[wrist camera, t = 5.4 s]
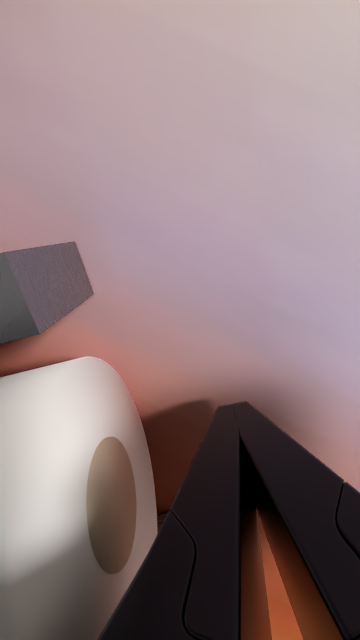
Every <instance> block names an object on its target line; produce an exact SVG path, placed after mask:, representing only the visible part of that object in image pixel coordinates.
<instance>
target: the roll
mask: <svg viewBox="0 0 360 640" xmlns="http://www.w3.org/2000/svg"><path fill="white" fill-rule="evenodd" d="M156 536H157V510H156V497H155V487H154V479H153V472H152V465H151V459H150V454H149V449H148V445H147V440H146V436H145V432H144V429H143V425H142V422H141V419H140V416H139V413H138V410H137V408H136V405H135V402H134V400H133V398H132V396H131V394H130V392H129V390H128V388H127V386H126V384H125V383H124V381H123V380H122V378H121V377H120V375H119V374H118V373H117V372H116V371H115V369H114V368H112V367H111V366H110V365H109V364H108V363H106V362H105V361H103V360H102V359H99V358H96V357H89V356H86V357H82V358H77V359H73V360H69V361H65V362H61V363H57V364H53V365H49V366H45V367H41V368H37V369H32V370H28V371H24V372H20V373H16V374H12V375H8V376H4V377H0V640H97V638H98V637H99V635H100V633H101V632H102V630H103V628H104V627H105V625H106V623H107V622H108V620H109V618H110V617H111V615H112V613H113V612H114V610H115V609H116V607H117V605H118V604H119V602H120V600H121V599H122V597H123V595H124V594H125V592H126V590H127V589H128V587H129V585H130V583H131V582H132V580H133V578H134V576H135V575H136V573H137V571H138V570H139V568H140V566H141V564H142V563H143V561H144V559H145V557H146V556H147V554H148V552H149V550H150V548H151V546H152V544H153V542H154V540H155V538H156Z"/></svg>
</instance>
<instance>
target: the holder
mask: <svg viewBox="0 0 360 640" xmlns="http://www.w3.org/2000/svg"><path fill="white" fill-rule="evenodd" d="M93 294H94V293H93V290H92V288H91V285H90V282H89V279H88V277H87V274H86V271H85V268H84V265H83V263H82V260H81V257H80V254H79V251H78V249H77V246H76V243H75V242H68V243H62V244H55V245H48V246H42V247H35V248H29V249H22V250H16V251H9V252H3V253H0V344H1V343H5V342H9V341H13V340H17V339H21V338H25V337H29V336H33V335H37V334H40V333H42V332H43V331H44V330H46V329H47V328H48V327H50V326H51V325H52V324H54V323H55V322H56V321H58V320H59V319H61V318H62V317H63V316H65V315H66V314H67V313H69V312H70V311H71V310H73V309H74V308H75V307H77V306H78V305H79V304H81V303H82V302H83V301H85V300H86V299H88V298H89V297H90V296H92V295H93ZM166 515H167V513H163V514H157V534H158V532H159V530H160V528H161V526H162V524H163V522H164V520H165V517H166Z"/></svg>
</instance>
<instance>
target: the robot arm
mask: <svg viewBox="0 0 360 640" xmlns="http://www.w3.org/2000/svg"><path fill="white" fill-rule="evenodd" d="M256 508H257V510H256ZM257 511H258V514H259V517H260V519H261V522H262V525H263V528H264V531H265V533H266V536H267V539H268V542H269V544H270V547H271V550H272V553H273V556H274V558H275V561H276V564H277V567H278V570H279V572H280V575H281V578H282V581H283V584H284V586H285V589H286V592H287V595H288V597H289V600H290V603H291V606H292V609H293V611H294V614H295V617H296V620H297V623H298V625H299V628H300V631H301V634H302V637H303V639H304V640H360V492H358V491H357V490H356V489H355V488H354V487H352V486H351V485H350V484H349V483H347V482H344V480H343V479H342V478H341V477H340V476H338V475H337V474H336V473H335V472H333V471H332V470H331V469H330V468H329V467H327V466H326V465H325V464H324V463H322V462H321V461H320V460H319V459H317V458H316V457H315V456H314V455H312V454H311V453H310V452H309V451H307V450H306V449H305V448H304V447H303V446H301V445H300V444H299V443H298V442H296V441H295V440H294V439H293V438H291V437H290V436H289V435H288V434H286V433H285V432H284V431H283V430H281V429H280V428H279V427H278V426H276V425H275V424H274V423H273V422H272V421H270V420H269V419H268V418H267V417H265V416H264V415H263V414H262V413H260V412H259V411H258V410H257V409H255V408H254V407H253V406H252V405H250V404H249V403H248V402H246V401H244V402H239V403H234V404H229V405H224V406H219V407H218V408H217V409H216V412H215V414H214V416H213V418H212V420H211V422H210V424H209V426H208V429H207V431H206V433H205V435H204V437H203V439H202V441H201V443H200V446H199V448H198V450H197V452H196V454H195V456H194V458H193V460H192V463H191V465H190V467H189V469H188V471H187V473H186V475H185V477H184V480H183V482H182V484H181V486H180V488H179V490H178V492H177V494H176V497H175V499H174V501H173V503H172V505H171V507H170V511H169V512H168V513H167V515H166V517H165V520H164V522H163V524H162V526H161V528H160V530H159V532H158V534H157V536H156V538H155V540H154V542H153V544H152V546H151V548H150V550H149V552H148V554H147V556H146V557H145V559H144V561H143V563H142V564H141V566H140V568H139V570H138V571H137V573H136V575H135V576H134V578H133V580H132V582H131V583H130V585H129V587H128V589H127V590H126V592H125V594H124V595H123V597H122V599H121V600H120V602H119V604H118V605H117V607H116V609H115V610H114V612H113V613H112V615H111V617H110V618H109V620H108V622H107V623H106V625H105V627H104V628H103V630H102V632H101V633H100V635H99V637H98V638H97V640H272V636H271V628H270V619H269V611H268V602H267V594H266V586H265V577H264V569H263V561H262V552H261V544H260V535H259V527H258V519H257Z"/></svg>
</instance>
